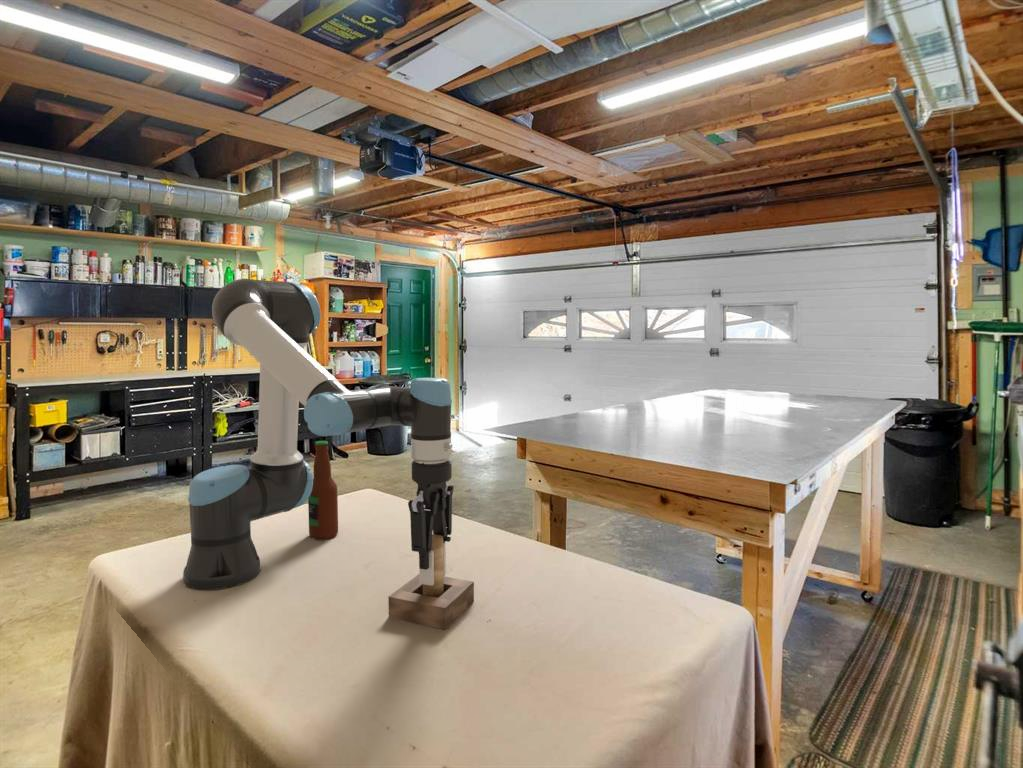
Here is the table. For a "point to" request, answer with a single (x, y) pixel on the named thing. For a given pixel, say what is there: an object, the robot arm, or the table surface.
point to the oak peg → (436, 569)
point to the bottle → (323, 497)
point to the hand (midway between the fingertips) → (432, 578)
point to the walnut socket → (431, 602)
